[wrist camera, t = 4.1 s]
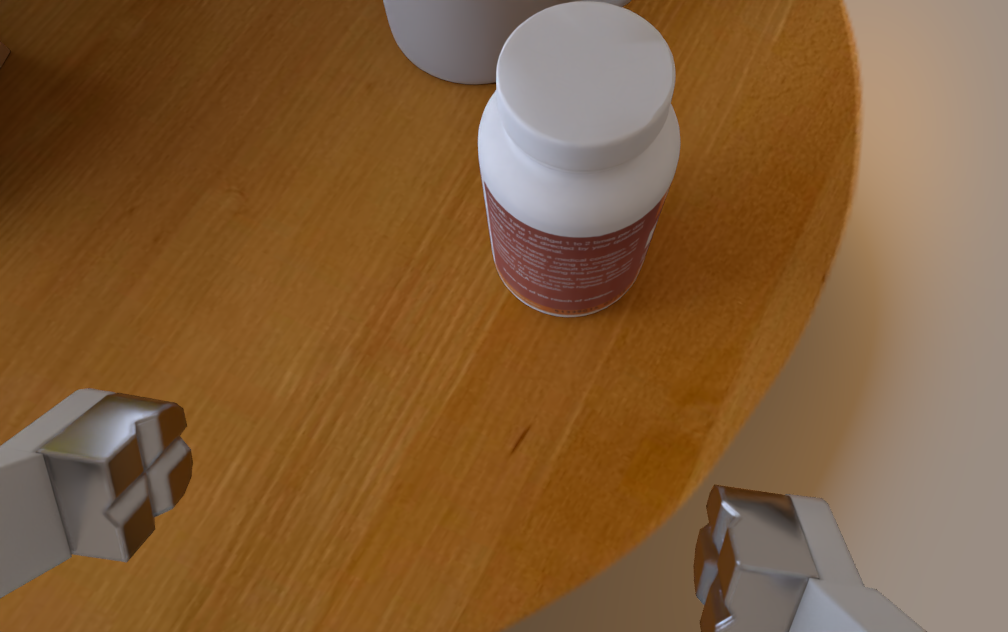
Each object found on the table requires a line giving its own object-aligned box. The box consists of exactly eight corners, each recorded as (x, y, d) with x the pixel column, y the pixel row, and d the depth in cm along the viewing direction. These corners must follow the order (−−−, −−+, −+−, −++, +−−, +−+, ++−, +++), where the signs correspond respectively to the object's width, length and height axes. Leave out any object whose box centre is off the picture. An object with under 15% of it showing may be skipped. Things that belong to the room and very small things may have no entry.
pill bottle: (663, 299, 27) (745, 138, 16) (515, 339, 27) (502, 201, 16) (614, 169, 29) (660, -47, 18) (476, 205, 29) (443, 6, 18)
